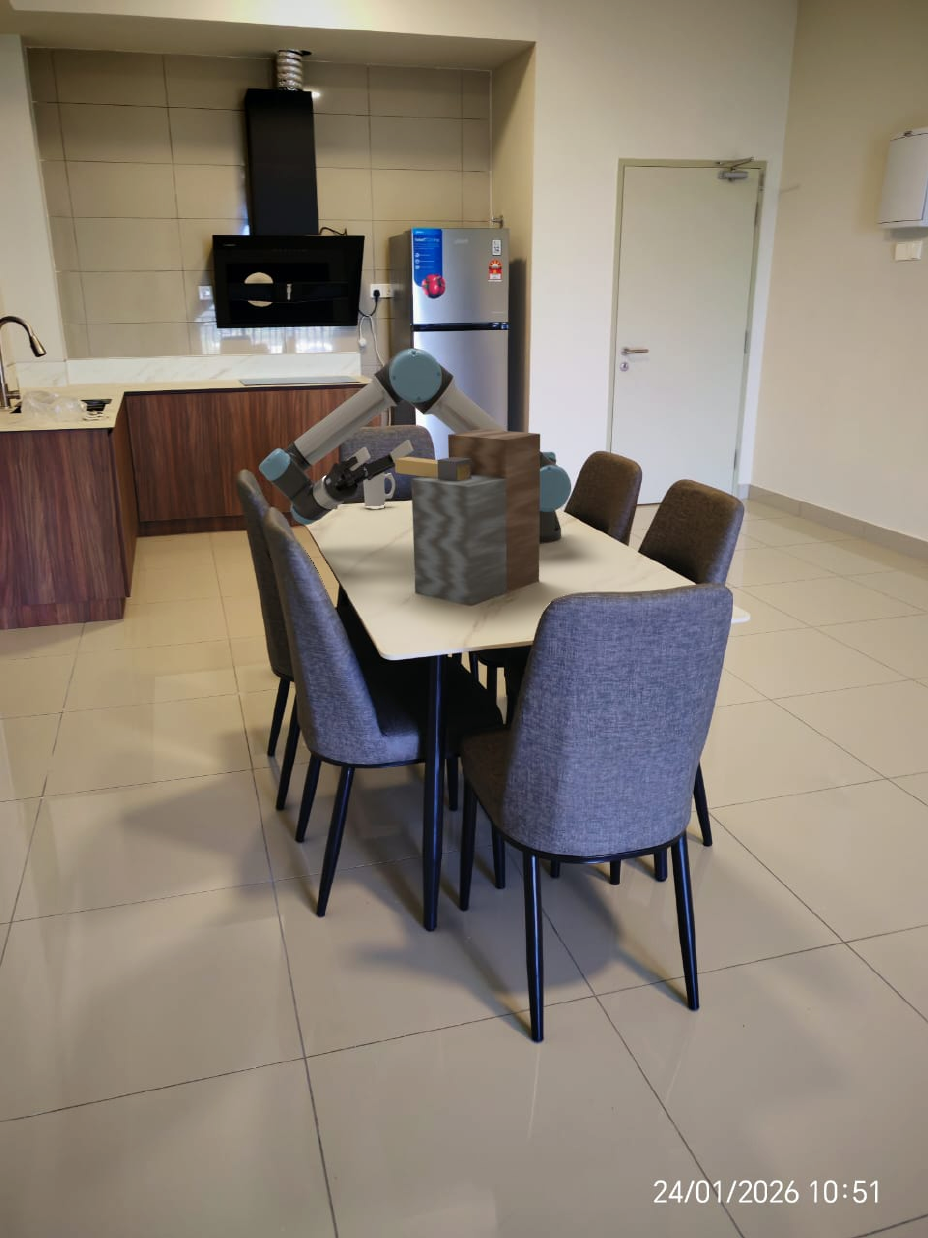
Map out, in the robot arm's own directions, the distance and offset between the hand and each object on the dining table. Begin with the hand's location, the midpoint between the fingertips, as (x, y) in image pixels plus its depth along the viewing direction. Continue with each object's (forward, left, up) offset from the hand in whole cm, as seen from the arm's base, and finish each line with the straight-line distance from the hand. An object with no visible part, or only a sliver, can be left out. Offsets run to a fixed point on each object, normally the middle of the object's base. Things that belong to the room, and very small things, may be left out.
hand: (389, 448), depth 206 cm
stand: (+14, +15, -30) cm, 36 cm away
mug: (-81, +17, -30) cm, 88 cm away
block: (+11, +6, -5) cm, 13 cm away
